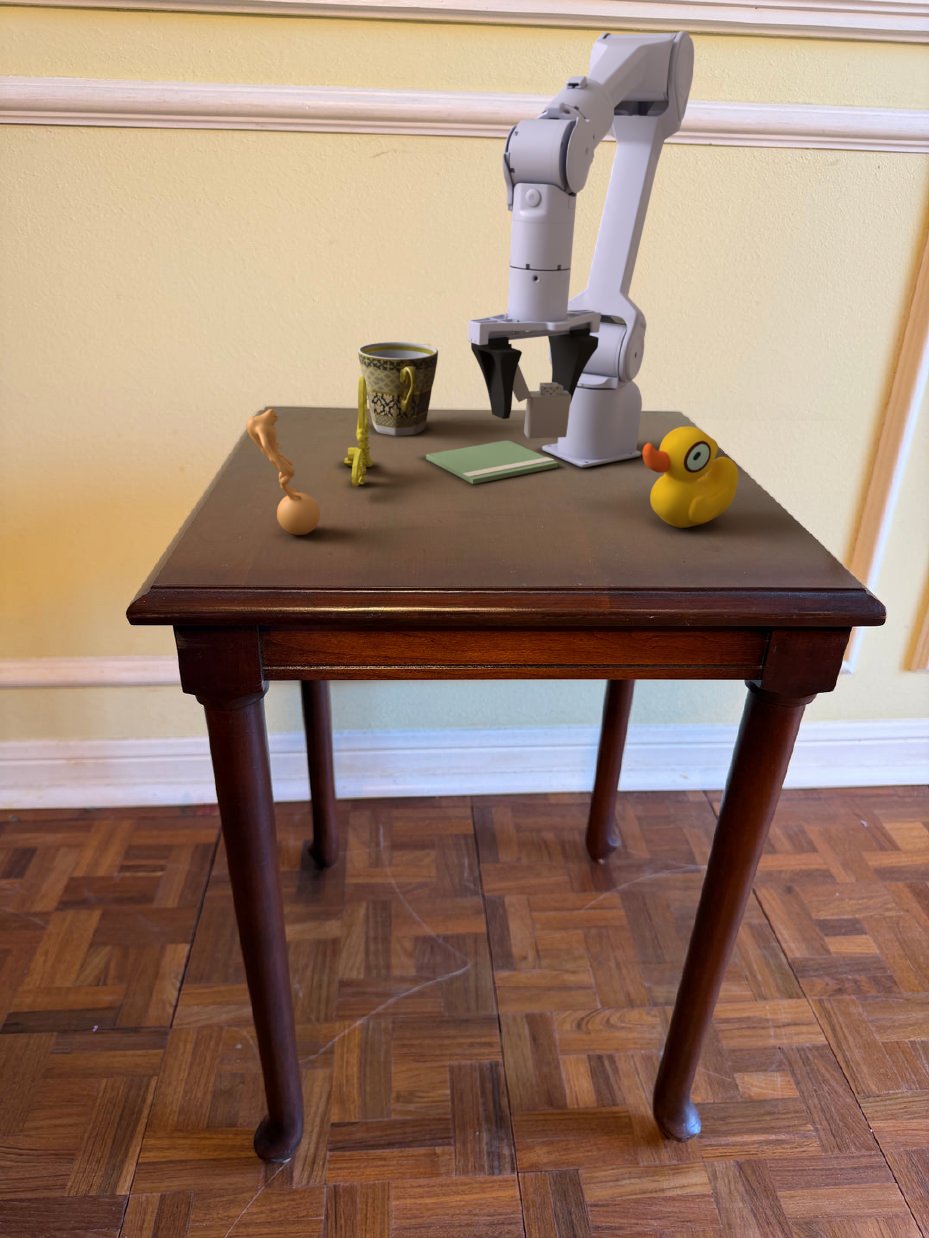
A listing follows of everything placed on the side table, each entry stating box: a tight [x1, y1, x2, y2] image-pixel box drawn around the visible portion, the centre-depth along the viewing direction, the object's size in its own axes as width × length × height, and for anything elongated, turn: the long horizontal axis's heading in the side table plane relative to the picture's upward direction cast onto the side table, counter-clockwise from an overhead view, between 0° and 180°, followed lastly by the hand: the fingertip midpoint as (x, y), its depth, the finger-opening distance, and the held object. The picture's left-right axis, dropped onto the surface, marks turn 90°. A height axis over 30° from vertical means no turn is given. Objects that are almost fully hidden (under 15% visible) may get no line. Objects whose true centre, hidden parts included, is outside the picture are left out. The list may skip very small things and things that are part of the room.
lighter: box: [513, 363, 571, 439], centre depth 87 cm, size 7×2×8 cm, turn 101°
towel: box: [425, 439, 559, 485], centre depth 103 cm, size 12×10×1 cm
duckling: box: [642, 425, 739, 529], centre depth 86 cm, size 11×5×10 cm, turn 115°
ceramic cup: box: [357, 341, 439, 437], centre depth 111 cm, size 13×10×10 cm
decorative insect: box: [343, 376, 374, 487], centre depth 97 cm, size 13×3×10 cm
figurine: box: [245, 408, 321, 536], centre depth 80 cm, size 8×6×12 cm
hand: (530, 411), depth 88 cm, fingers closed on lighter, 7 cm apart
